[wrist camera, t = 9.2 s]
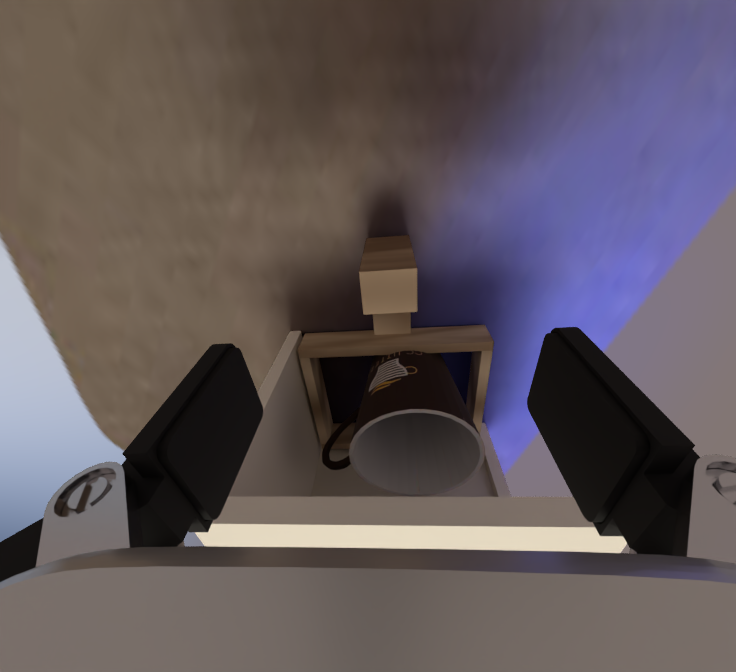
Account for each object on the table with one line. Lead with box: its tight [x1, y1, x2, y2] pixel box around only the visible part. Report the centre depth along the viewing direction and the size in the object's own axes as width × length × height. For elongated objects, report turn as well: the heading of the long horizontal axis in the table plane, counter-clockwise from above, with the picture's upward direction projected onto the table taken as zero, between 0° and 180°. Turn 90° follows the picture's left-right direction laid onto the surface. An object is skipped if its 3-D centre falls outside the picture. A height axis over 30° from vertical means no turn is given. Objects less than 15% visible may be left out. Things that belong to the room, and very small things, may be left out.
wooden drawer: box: [298, 235, 494, 449], centre depth 24 cm, size 20×15×7 cm
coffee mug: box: [322, 350, 485, 496], centre depth 24 cm, size 12×9×10 cm
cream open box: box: [195, 331, 627, 553], centre depth 23 cm, size 14×18×16 cm
